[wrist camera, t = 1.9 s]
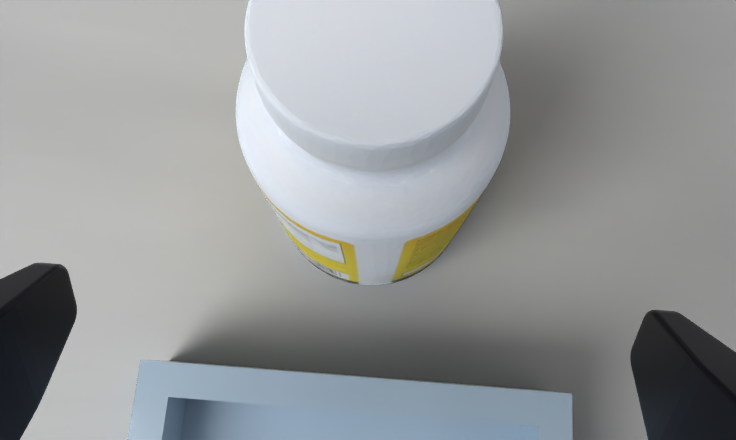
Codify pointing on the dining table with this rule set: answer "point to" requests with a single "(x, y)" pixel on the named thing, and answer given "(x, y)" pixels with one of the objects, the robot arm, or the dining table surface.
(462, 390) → the dish
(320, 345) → the dining table surface
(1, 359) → the robot arm
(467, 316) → the dining table surface
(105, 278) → the dining table surface
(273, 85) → the pill bottle
